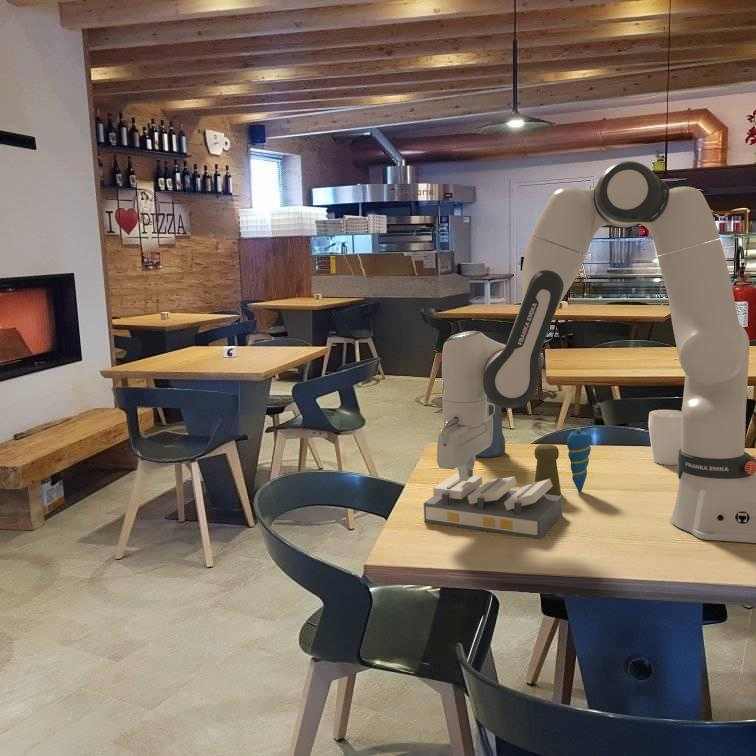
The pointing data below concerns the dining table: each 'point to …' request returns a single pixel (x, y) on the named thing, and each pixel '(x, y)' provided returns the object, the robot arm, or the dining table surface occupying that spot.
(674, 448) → the cup
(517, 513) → the switch unit
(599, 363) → the dining table surface
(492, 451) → the bottle
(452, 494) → the grooved switch paddle
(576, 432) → the ornament
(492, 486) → the rocker
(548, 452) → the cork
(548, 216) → the robot arm
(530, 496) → the panel
